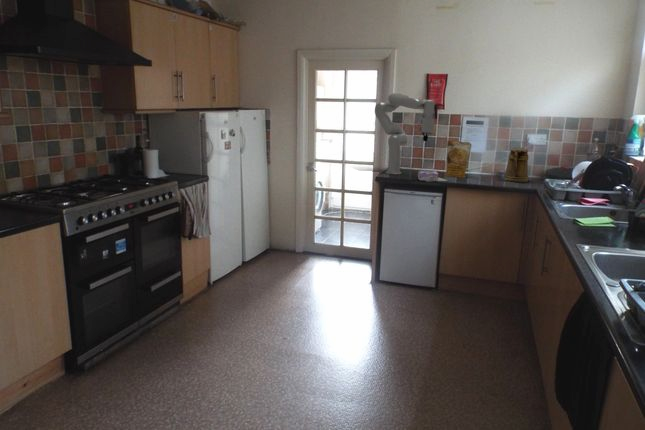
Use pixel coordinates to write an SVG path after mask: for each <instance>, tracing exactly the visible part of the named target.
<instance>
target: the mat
mask: <svg viewBox="0 0 645 430" xmlns="http://www.w3.org/2000/svg"><path fill="white" fill-rule="evenodd" d="M418 180H419V178H418ZM448 181H449V180H448V179H446V178H443V177H442V178H441V177H439V176H438V181H437V182H448ZM423 182H429V183H430V182H431V183H432V182H433V181H425V180H423Z"/></svg>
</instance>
